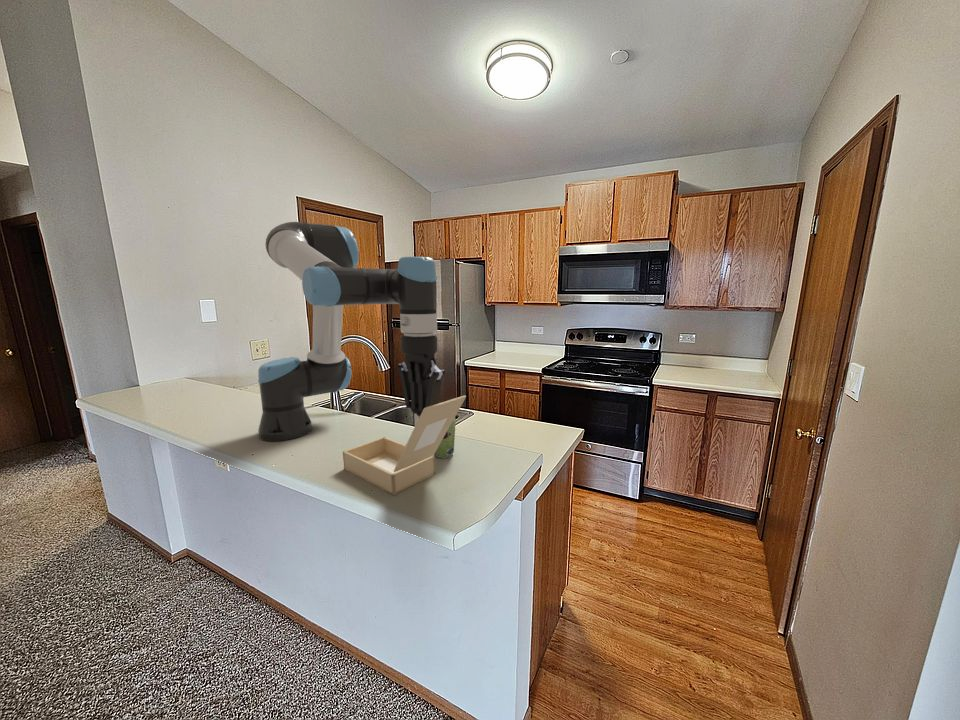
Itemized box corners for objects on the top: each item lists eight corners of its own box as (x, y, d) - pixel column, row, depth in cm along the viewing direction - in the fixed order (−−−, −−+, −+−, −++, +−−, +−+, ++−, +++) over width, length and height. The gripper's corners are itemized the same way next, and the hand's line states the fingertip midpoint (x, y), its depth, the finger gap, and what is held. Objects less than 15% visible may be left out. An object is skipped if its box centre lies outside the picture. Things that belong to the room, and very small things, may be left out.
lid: (424, 408, 71) (425, 409, 71) (465, 395, 80) (466, 396, 80) (393, 471, 81) (394, 472, 81) (433, 453, 90) (434, 454, 90)
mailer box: (344, 468, 94) (342, 451, 93) (385, 452, 104) (384, 436, 103) (393, 495, 82) (392, 475, 81) (435, 474, 91) (434, 456, 90)
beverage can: (444, 448, 106) (443, 407, 104) (461, 455, 101) (460, 412, 99) (426, 455, 102) (424, 412, 100) (443, 463, 97) (442, 418, 95)
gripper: (385, 333, 79) (389, 438, 84) (426, 338, 71) (429, 455, 76) (412, 330, 85) (415, 429, 89) (454, 334, 77) (455, 443, 81)
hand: (422, 441), depth 83 cm, fingers closed
